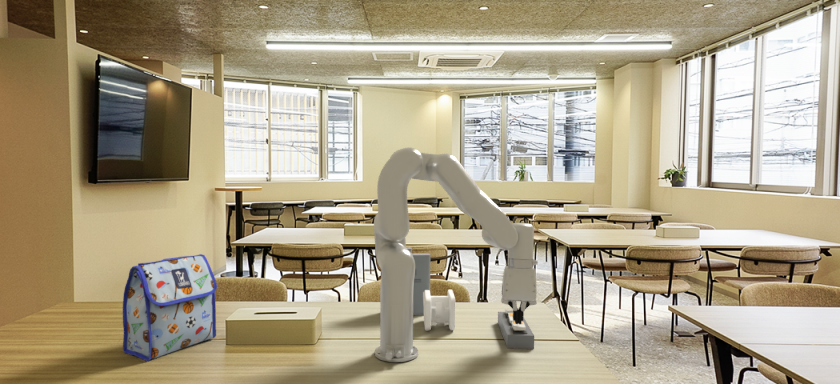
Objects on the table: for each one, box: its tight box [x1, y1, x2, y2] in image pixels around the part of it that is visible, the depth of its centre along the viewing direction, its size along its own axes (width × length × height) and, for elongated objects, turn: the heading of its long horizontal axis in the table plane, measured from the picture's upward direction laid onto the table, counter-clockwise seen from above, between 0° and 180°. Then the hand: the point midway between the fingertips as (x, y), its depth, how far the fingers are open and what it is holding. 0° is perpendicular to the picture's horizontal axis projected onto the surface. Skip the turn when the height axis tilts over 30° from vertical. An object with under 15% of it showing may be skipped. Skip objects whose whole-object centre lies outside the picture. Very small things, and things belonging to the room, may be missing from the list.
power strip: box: [497, 311, 535, 350], centre depth 164 cm, size 34×8×5 cm, turn 177°
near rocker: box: [512, 321, 526, 330], centre depth 151 cm, size 5×4×1 cm
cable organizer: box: [423, 289, 456, 332], centre depth 167 cm, size 15×11×12 cm
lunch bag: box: [122, 253, 218, 362], centre depth 145 cm, size 23×17×27 cm
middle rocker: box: [508, 313, 522, 323], centre depth 159 cm, size 5×4×1 cm
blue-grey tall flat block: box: [406, 246, 431, 316], centre depth 182 cm, size 17×5×25 cm, turn 89°
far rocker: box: [504, 308, 513, 313], centre depth 167 cm, size 5×4×1 cm
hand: (517, 322), depth 149 cm, fingers closed
